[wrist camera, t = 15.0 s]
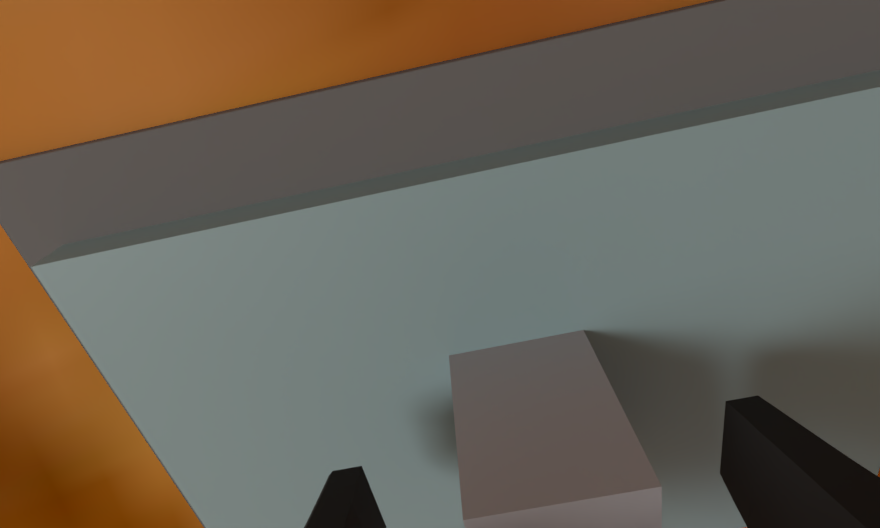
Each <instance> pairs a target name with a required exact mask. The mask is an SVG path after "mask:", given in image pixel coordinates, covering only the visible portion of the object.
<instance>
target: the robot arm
mask: <svg viewBox="0 0 880 528" xmlns="http://www.w3.org/2000/svg"><path fill="white" fill-rule="evenodd" d="M720 475H721V477H722V479H723V481H724V483H725V485H726V487H727V489H728V491H729V493H730V495H731V497H732V499H733V501H734V503H735V505H736V507H737V509H738V511H739V512H740V514H741V516H742V518H743V520H744V522H745V524H746V526H747V528H880V477H878V476H877V475H875V474H873V473H872V472H870V471H869V470H867V469H866V468H864V467H863V466H861V465H860V464H858V463H857V462H855V461H854V460H852V459H851V458H849V457H848V456H846V455H845V454H843V453H842V452H840V451H839V450H837V449H836V448H834V447H833V446H831V445H830V444H828V443H827V442H825V441H824V440H822V439H821V438H820V437H818V436H817V435H815V434H814V433H812V432H811V431H809V430H808V429H806V428H805V427H803V426H802V425H801V424H799V423H798V422H796V421H795V420H793V419H792V418H790V417H789V416H788V415H786V414H785V413H783V412H782V411H780V410H779V409H777V408H776V407H774V406H773V405H771V404H770V403H769V402H767V401H766V400H764V399H763V398H761V397H760V396H758V395H757V396H752V397H746V398H741V399H735V400H729V401H726V403H725V415H724V428H723V440H722V452H721V465H720ZM304 528H387V527H386V525H385V522H384V520H383V517H382V515H381V513H380V510H379V508H378V505H377V503H376V500H375V498H374V495H373V493H372V490H371V488H370V485H369V483H368V480H367V478H366V475H365V473H364V470H363V468H362V466H358V467H352V468H347V469H341V470H335V471H332V472H331V474H330V475H329V476H328V479H327V481H326V483H325V485H324V487H323V489H322V491H321V493H320V496H319V498H318V500H317V502H316V504H315V506H314V508H313V510H312V512H311V514H310V516H309V519H308V521H307V523H306V525H305V527H304Z"/></svg>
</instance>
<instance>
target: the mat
mask: <svg viewBox="0 0 880 528" xmlns="http://www.w3.org/2000/svg"><path fill="white" fill-rule="evenodd" d="M877 70H880V0H714V1H709V2H705V3H701V4H696V5H692V6H687V7H683V8H678V9H674V10H669V11H665V12H661V13H656V14H652V15H647V16H643V17H638V18H634V19H630V20H625V21H621V22H616V23H612V24H607V25H603V26H599V27H594V28H590V29H585V30H581V31H576V32H572V33H568V34H563V35H559V36H554V37H550V38H545V39H541V40H536V41H532V42H528V43H523V44H519V45H514V46H510V47H505V48H501V49H497V50H492V51H488V52H483V53H479V54H474V55H470V56H466V57H461V58H457V59H452V60H448V61H443V62H439V63H434V64H430V65H426V66H421V67H417V68H412V69H408V70H403V71H399V72H395V73H390V74H386V75H381V76H377V77H372V78H368V79H364V80H359V81H355V82H350V83H346V84H341V85H337V86H332V87H328V88H324V89H319V90H315V91H310V92H306V93H301V94H297V95H293V96H288V97H284V98H279V99H275V100H270V101H266V102H262V103H257V104H253V105H248V106H244V107H239V108H235V109H230V110H226V111H222V112H217V113H213V114H208V115H204V116H199V117H195V118H191V119H186V120H182V121H177V122H173V123H168V124H164V125H160V126H155V127H151V128H146V129H142V130H137V131H133V132H128V133H124V134H120V135H115V136H111V137H106V138H102V139H97V140H93V141H89V142H84V143H80V144H75V145H71V146H66V147H62V148H58V149H53V150H49V151H44V152H40V153H35V154H31V155H27V156H22V157H18V158H13V159H9V160H4V161H0V224H1V226H2V227H3V229H4V230H5V232H6V233H7V235H8V236H9V238H10V239H11V241H12V242H13V244H14V245H15V247H16V248H17V250H18V251H19V253H20V254H21V256H22V257H23V259H24V260H25V262H26V263H27V265H28V266H29V268H30V269H31V271H32V272H33V273H34V271H33V270H32V268H31V266H33V265H34V264H36V263H37V262H39V261H40V260H41V259H43V258H44V257H46V256H47V255H49V254H50V253H52V252H53V251H55V250H56V249H57V248H59V247H60V246H62V245H64V244H69V243H73V242H78V241H83V240H88V239H92V238H97V237H102V236H106V235H111V234H116V233H120V232H125V231H130V230H134V229H139V228H144V227H148V226H153V225H158V224H162V223H167V222H172V221H176V220H181V219H186V218H190V217H195V216H200V215H204V214H209V213H214V212H218V211H223V210H228V209H232V208H237V207H242V206H246V205H251V204H256V203H260V202H265V201H270V200H274V199H279V198H284V197H288V196H293V195H298V194H302V193H307V192H312V191H316V190H321V189H326V188H330V187H335V186H340V185H344V184H349V183H354V182H358V181H363V180H368V179H372V178H377V177H382V176H387V175H391V174H396V173H401V172H405V171H410V170H415V169H419V168H424V167H429V166H433V165H438V164H443V163H447V162H452V161H457V160H461V159H466V158H471V157H475V156H480V155H485V154H489V153H494V152H499V151H503V150H508V149H513V148H517V147H522V146H527V145H531V144H536V143H541V142H545V141H550V140H555V139H559V138H564V137H569V136H573V135H578V134H583V133H587V132H592V131H597V130H601V129H606V128H611V127H615V126H620V125H625V124H629V123H634V122H639V121H643V120H648V119H653V118H657V117H662V116H667V115H671V114H676V113H681V112H686V111H690V110H695V109H700V108H704V107H709V106H714V105H718V104H723V103H728V102H732V101H737V100H742V99H746V98H751V97H756V96H760V95H765V94H770V93H774V92H779V91H784V90H788V89H793V88H798V87H802V86H807V85H812V84H816V83H821V82H826V81H830V80H835V79H840V78H844V77H849V76H854V75H858V74H863V73H868V72H872V71H877ZM34 275H35V276H36V274H35V273H34ZM36 278H37V279H38V277H37V276H36ZM38 281H39V282H40V284H41V285H42V287H43V288H44V290H45V291H46V293H47V294H48V296H49V297H50V299H51V300H52V302H53V303H54V305H55V306H56V308H57V309H58V311H59V312H60V314H61V315H62V317H63V318H64V320H65V321H66V323H67V324H68V326H69V327H70V329H71V330H72V332H73V333H74V334H75V332H74V331H73V329H72V328H71V326H70V325H69V323H68V322H67V320H66V319H65V317H64V316H63V314H62V313H61V311H60V310H59V308H58V307H57V305H56V304H55V302H54V301H53V299H52V298H51V296H50V295H49V293H48V292H47V290H46V289H45V287H44V286H43V284H42V283H41V281H40V280H39V279H38ZM75 336H76V337H77V335H76V334H75ZM77 339H78V340H79V338H78V337H77ZM79 342H80V343H81V341H80V340H79ZM81 345H82V346H83V344H82V343H81ZM83 348H84V349H85V347H84V346H83ZM85 351H86V352H87V354H88V355H89V357H90V358H91V360H92V361H93V363H94V364H95V366H96V367H97V369H98V370H99V372H100V373H101V375H102V376H103V378H104V379H105V381H106V382H107V384H108V385H109V387H110V388H111V390H112V391H113V393H114V394H115V396H116V397H117V398H118V396H117V395H116V393H115V392H114V390H113V389H112V387H111V386H110V384H109V383H108V381H107V380H106V378H105V377H104V375H103V374H102V372H101V371H100V369H99V368H98V366H97V365H96V363H95V362H94V360H93V359H92V357H91V356H90V354H89V353H88V351H87V350H86V349H85ZM118 400H119V401H120V399H119V398H118ZM120 403H121V404H122V402H121V401H120ZM122 406H123V407H124V405H123V404H122ZM124 409H125V410H126V408H125V407H124ZM126 412H127V413H128V411H127V410H126ZM128 415H129V416H130V414H129V413H128ZM130 418H131V419H132V417H131V416H130ZM132 421H133V422H134V424H135V425H136V427H137V428H138V430H139V431H140V433H141V434H142V436H143V437H144V439H145V440H146V442H147V443H148V445H149V446H150V448H151V449H152V451H153V452H154V454H155V455H156V457H157V458H158V460H159V461H160V462H161V460H160V459H159V457H158V456H157V454H156V453H155V451H154V450H153V448H152V447H151V445H150V444H149V442H148V441H147V439H146V438H145V436H144V435H143V433H142V432H141V430H140V429H139V427H138V426H137V424H136V423H135V421H134V420H133V419H132ZM161 464H162V465H163V463H162V462H161ZM163 467H164V468H165V466H164V465H163ZM165 470H166V471H167V469H166V468H165ZM167 473H168V474H169V472H168V471H167ZM169 476H170V477H171V475H170V474H169ZM171 479H172V480H173V478H172V477H171ZM173 482H174V483H175V481H174V480H173ZM175 485H176V486H177V484H176V483H175ZM177 488H178V489H179V487H178V486H177ZM179 491H180V492H181V494H182V495H183V497H184V498H185V500H186V501H187V503H188V504H189V506H190V507H191V509H192V510H193V512H194V513H195V515H196V516H197V518H198V519H199V521H200V522H201V524H202V525H203V526H204V524H203V523H202V521H201V520H200V518H199V517H198V515H197V514H196V512H195V511H194V509H193V508H192V506H191V505H190V503H189V502H188V500H187V499H186V497H185V496H184V494H183V493H182V491H181V490H180V489H179ZM204 528H206V527H205V526H204Z"/></svg>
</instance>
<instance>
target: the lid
mask: <svg viewBox="0 0 880 528" xmlns="http://www.w3.org/2000/svg"><path fill="white" fill-rule="evenodd" d="M31 268H32V270H33V271H34V273H35V274H36V276H37V277H38V279H39V280H40V281H41V283H42V284H43V286H44V287H45V289H46V290H47V292H48V293H49V295H50V296H51V298H52V299H53V301H54V302H55V304H56V305H57V307H58V308H59V310H60V311H61V313H62V314H63V316H64V317H65V319H66V320H67V322H68V323H69V325H70V326H71V328H72V329H73V331H74V332H75V334H76V335H77V337H78V338H79V340H80V341H81V343H82V344H83V346H84V347H85V349H86V350H87V351H88V353H89V354H90V356H91V357H92V359H93V360H94V362H95V363H96V365H97V366H98V368H99V369H100V371H101V372H102V374H103V375H104V377H105V378H106V380H107V381H108V383H109V384H110V386H111V387H112V389H113V390H114V392H115V393H116V395H117V396H118V398H119V399H120V401H121V402H122V404H123V405H124V407H125V408H126V410H127V411H128V413H129V414H130V416H131V417H132V419H133V420H134V421H135V423H136V424H137V426H138V427H139V429H140V430H141V432H142V433H143V435H144V436H145V438H146V439H147V441H148V442H149V444H150V445H151V447H152V448H153V450H154V451H155V453H156V454H157V456H158V457H159V459H160V460H161V462H162V463H163V465H164V466H165V468H166V469H167V471H168V472H169V474H170V475H171V477H172V478H173V480H174V481H175V483H176V484H177V486H178V487H179V489H180V490H181V491H182V493H183V494H184V496H185V497H186V499H187V500H188V502H189V503H190V505H191V506H192V508H193V509H194V511H195V512H196V514H197V515H198V517H199V518H200V520H201V521H202V523H203V524H204V526H205V527H206V528H304V527H305V525H306V523H307V521H308V519H309V516H310V514H311V512H312V510H313V508H314V506H315V504H316V502H317V500H318V498H319V496H320V493H321V491H322V489H323V487H324V485H325V483H326V481H327V479H328V476H329V475H330V474H331V472H332V471H335V470H341V469H347V468H352V467H358V466H362V468H363V470H364V473H365V475H366V478H367V480H368V483H369V485H370V488H371V490H372V493H373V495H374V498H375V500H376V503H377V505H378V508H379V510H380V513H381V515H382V517H383V520H384V522H385V525H386V527H387V528H742V527H747V526H746V524H745V522H744V520H743V518H742V516H741V514H740V512H739V511H738V509H737V507H736V505H735V503H734V501H733V499H732V497H731V495H730V493H729V491H728V489H727V487H726V485H725V483H724V481H723V479H722V477H721V475H720V465H721V452H722V440H723V428H724V415H725V403H726V401H729V400H735V399H741V398H746V397H752V396H757V395H758V396H760V397H761V398H763V399H764V400H766V401H767V402H769V403H770V404H771V405H773V406H774V407H776V408H777V409H779V410H780V411H782V412H783V413H785V414H786V415H788V416H789V417H790V418H792V419H793V420H795V421H796V422H798V423H799V424H801V425H802V426H803V427H805V428H806V429H808V430H809V431H811V432H812V433H814V434H815V435H817V436H818V437H820V438H821V439H822V440H824V441H825V442H827V443H828V444H830V445H831V446H833V447H834V448H836V449H837V450H839V451H840V452H842V453H843V454H845V455H846V456H848V457H849V458H851V459H852V460H854V461H855V462H857V463H858V464H860V465H861V466H863V467H864V468H866V469H867V470H869V471H870V472H872V473H873V474H875V475H878V471H879V468H880V70H877V71H872V72H868V73H863V74H858V75H854V76H849V77H844V78H840V79H835V80H830V81H826V82H821V83H816V84H812V85H807V86H802V87H798V88H793V89H788V90H784V91H779V92H774V93H770V94H765V95H760V96H756V97H751V98H746V99H742V100H737V101H732V102H728V103H723V104H718V105H714V106H709V107H704V108H700V109H695V110H690V111H686V112H681V113H676V114H671V115H667V116H662V117H657V118H653V119H648V120H643V121H639V122H634V123H629V124H625V125H620V126H615V127H611V128H606V129H601V130H597V131H592V132H587V133H583V134H578V135H573V136H569V137H564V138H559V139H555V140H550V141H545V142H541V143H536V144H531V145H527V146H522V147H517V148H513V149H508V150H503V151H499V152H494V153H489V154H485V155H480V156H475V157H471V158H466V159H461V160H457V161H452V162H447V163H443V164H438V165H433V166H429V167H424V168H419V169H415V170H410V171H405V172H401V173H396V174H391V175H387V176H382V177H377V178H372V179H368V180H363V181H358V182H354V183H349V184H344V185H340V186H335V187H330V188H326V189H321V190H316V191H312V192H307V193H302V194H298V195H293V196H288V197H284V198H279V199H274V200H270V201H265V202H260V203H256V204H251V205H246V206H242V207H237V208H232V209H228V210H223V211H218V212H214V213H209V214H204V215H200V216H195V217H190V218H186V219H181V220H176V221H172V222H167V223H162V224H158V225H153V226H148V227H144V228H139V229H134V230H130V231H125V232H120V233H116V234H111V235H106V236H102V237H97V238H92V239H88V240H83V241H78V242H73V243H69V244H64V245H62V246H60V247H59V248H57V249H56V250H55V251H53V252H52V253H50V254H49V255H47V256H46V257H44V258H43V259H41V260H40V261H39V262H37V263H36V264H34V265H33V266H31Z"/></svg>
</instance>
